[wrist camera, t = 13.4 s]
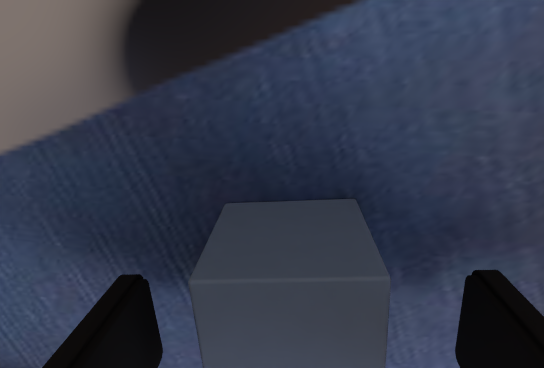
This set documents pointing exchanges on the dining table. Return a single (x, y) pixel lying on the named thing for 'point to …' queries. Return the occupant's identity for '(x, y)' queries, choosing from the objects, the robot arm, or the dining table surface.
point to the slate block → (291, 288)
